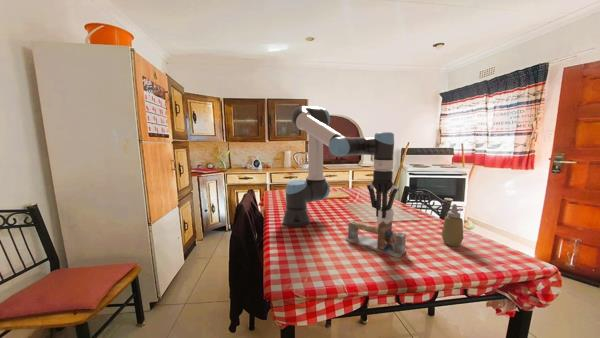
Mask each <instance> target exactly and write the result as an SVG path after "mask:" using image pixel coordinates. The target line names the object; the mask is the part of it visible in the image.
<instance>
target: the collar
mask: <svg viewBox="0 0 600 338" xmlns="http://www.w3.org/2000/svg"><path fill="white" fill-rule="evenodd" d="M377 227H378V234H377V240H378V244H377V248H380V249H385V248H386V247H387V246H388V245H389V244H391V243H392V238H389V237H386V236H385V233H386V231H388V230H390V231H392V229H393V221H391V220H385V221H383V222H382V223H380V224H378V226H377Z"/></svg>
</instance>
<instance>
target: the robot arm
mask: <svg viewBox="0 0 600 338" xmlns="http://www.w3.org/2000/svg"><path fill="white" fill-rule="evenodd" d="M290 119H291V123H292V124H293V126H294V127H295V128H297V129H299V130H300V131H304V132H306V133H307V136H308V137H307V142H308V144H307V145H308V147H307V149H308V151H307V153H308V154H307V155H308V159H307V162H308V164H307V165H308V172H307V173H308V176H306V177H305V180H304V179H299V180H298V179H297V180H296V179H295V180H292V181H289V182H287V184H286V185H285V211H284V216H283V218H282V223H283V225H285V226H287V227H291V228H301V227H306V226H308V225H310V223H311V219H310V216H309V212H308V209H307V207H308V206H307V205H308V203H311V202H312V203H313V202H317V201H318V202H319V201H322V200H325V199H327V197H328V196H329V195H330V191H331V190H330V189H331V187H330V184H329V182H328V181H327V180H326V179H327V178H326V177H325V176H324V145H325V146H327V147H328V150H329V152H330V154H331V155H332V156H335V157H345V156H362V155H363V156H365V155H366V156H373V169H374V170H373V171H372V172H373V173H372V182H371V183H370V184H366V189H367V190H368V194H369V198H370V204H371V207H372V208H374V209H375V210H376V213H375V216H376V218H377V217H378V224H380V223H382V222H383V221H384V218H386V211H387V210H390V209H392V207H393V203H394V202H395V199H396V198H395V197H396V195H397V193H398V192H399V187H396V186H395V185H394V183H393V173H394V172H393V169H394V149H395V134H394V133H393V132H389V131H388V132H386V131H385V132H384V131H383V132H376V133H374V137H349V136H348V137H347V136H345V135H343V134H341V133H340V132H338V131H336V130H335V129H334V128H331V127H330V126H329V125H330V124H331V116H330V113H329V111H328V109H326V108H323V107H320V106H308V105H300V106H297V107H296V108H295V109H294V110H292V113H291V116H290ZM389 191H391V193H390V196H389V198H388V195H389ZM380 208H382V209H380Z"/></svg>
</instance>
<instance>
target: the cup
mask: <svg viewBox="0 0 600 338" xmlns="http://www.w3.org/2000/svg"><path fill="white" fill-rule="evenodd" d="M380 209H382V208H380ZM394 215H395V209H392V208H391V209H390V210H387V211H386V218H384V221H385V220H391V221H392V222H393V221H394ZM376 220H377V223H376V224H377V225H376V227H378V217H376Z"/></svg>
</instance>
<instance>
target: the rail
mask: <svg viewBox="0 0 600 338" xmlns="http://www.w3.org/2000/svg"><path fill="white" fill-rule="evenodd" d="M347 226H348V227H347V232H348V233H347V237H346V238H345V241H346V242H350V243H353V244H355V245H359V246H363V247H365V248H368V249H371V250H374V251H377V252H380V253H382V254H386V255H389V256H392V257H395V258H398V259H401V258H402V256H403V255H404V254H405V253H406V252H407V248H406V237H407V236H406V233H404V232H400V231H396V230H395V231H390V230H388V231H386V233H385V236H386V237H389V238H391V240H393V241H394V243H393V244H391V243H390V244H389V245H388V246H387V247H386V248H385V249H380V248H377V244H378V239H374V238H371V237H368V236H365V235H361V234H359V230H361V231H365V232H367V233H372V234H374V235H378V226H375V225H371V224H367V223H364V222H361V221H360V222H359V221H356V220H351V221H349V222H348V225H347Z"/></svg>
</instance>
